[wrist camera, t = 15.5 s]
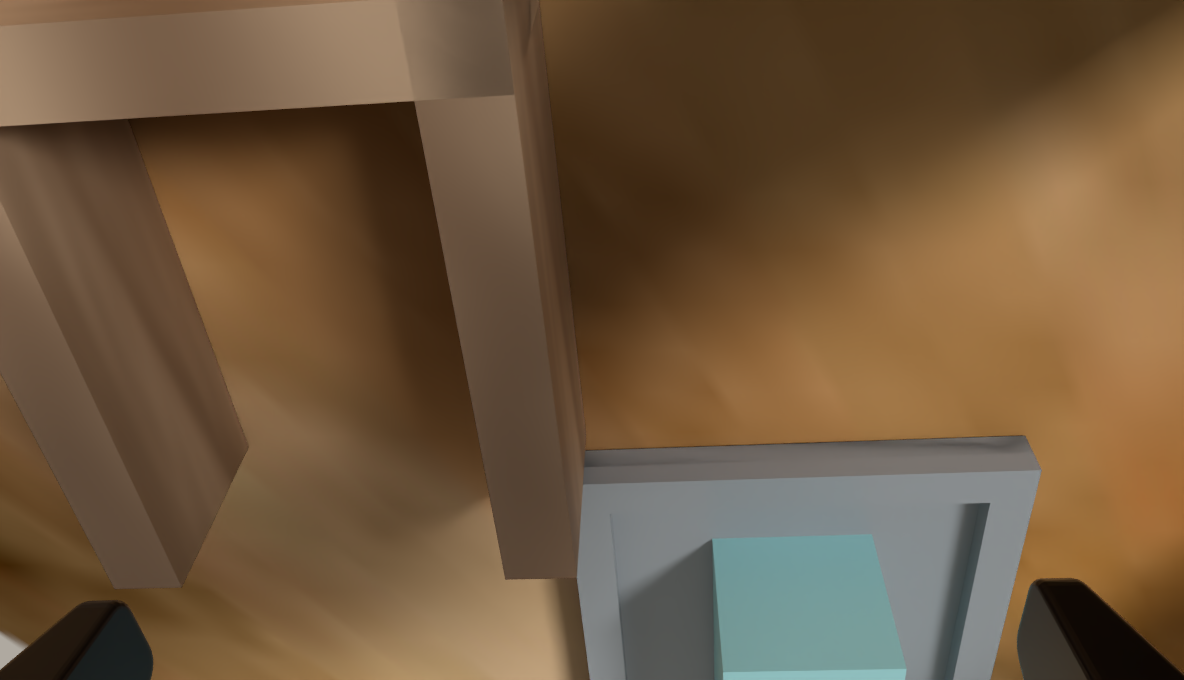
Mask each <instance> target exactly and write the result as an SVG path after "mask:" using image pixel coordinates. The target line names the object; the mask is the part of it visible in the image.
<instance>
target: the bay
mask: <svg viewBox="0 0 1184 680" xmlns="http://www.w3.org/2000/svg"><path fill="white" fill-rule="evenodd" d="M405 101H414V102H415V107H416V113H417V118H418V123H419V128H420V134H421V139H422V144H423V149H424V155H425V160H426V165H427V170H428V176H429V181H430V186H431V191H432V197H433V202H434V207H435V212H436V218H437V223H438V228H439V233H440V239H441V244H442V249H443V254H444V260H445V265H446V270H447V275H448V281H449V286H450V291H451V296H452V302H453V307H454V312H455V317H456V323H457V328H458V333H459V338H460V344H461V349H462V354H463V359H464V365H465V370H466V375H467V380H468V386H469V391H470V396H471V401H472V407H473V412H474V417H475V422H476V428H477V433H478V438H479V443H480V449H481V454H482V459H483V464H484V470H485V475H486V480H487V485H488V491H489V496H490V501H491V506H492V512H493V517H494V522H495V527H496V533H497V538H498V543H499V548H500V554H501V559H502V564H503V569H504V575H505V580H508V579H549V578H577V569H578V554H579V538H580V523H581V507H582V492H583V476H584V461H585V445H586V429H585V420H584V411H583V402H582V392H581V383H580V374H579V365H578V355H577V346H576V337H575V328H574V318H573V309H572V300H571V291H570V281H569V272H568V263H567V254H566V244H565V235H564V226H563V217H562V207H561V198H560V189H559V180H558V171H557V161H556V152H555V143H554V134H553V124H552V115H551V106H550V97H549V87H548V78H547V69H546V60H545V50H544V41H543V32H542V23H541V13H540V4H539V0H0V373H1V375H2V377H3V379H4V381H5V383H6V385H7V386H8V388H9V390H10V392H11V394H12V396H13V398H14V400H15V402H16V404H17V405H18V407H19V409H20V411H21V413H22V415H23V417H24V419H25V421H26V422H27V424H28V426H29V428H30V430H31V432H32V434H33V436H34V438H35V439H36V441H37V443H38V445H39V447H40V449H41V451H42V453H43V455H44V457H45V458H46V460H47V462H48V464H49V466H50V468H51V470H52V472H53V474H54V475H55V477H56V479H57V481H58V483H59V485H60V487H61V489H62V491H63V492H64V494H65V496H66V498H67V500H68V502H69V504H70V506H71V508H72V509H73V511H74V513H75V515H76V517H77V519H78V521H79V523H80V525H81V527H82V528H83V530H84V532H85V534H86V536H87V538H88V540H89V542H90V544H91V545H92V547H93V549H94V551H95V553H96V555H97V557H98V559H99V561H100V562H101V564H102V566H103V568H104V570H105V572H106V574H107V576H108V578H109V579H110V581H111V583H112V585H113V587H114V589H137V588H178V587H182V586H183V584H184V582H185V580H186V578H187V575H188V573H189V571H190V569H191V567H192V565H193V563H194V561H195V559H196V557H197V554H198V552H199V550H200V548H201V546H202V544H203V542H204V540H205V538H206V536H207V533H208V531H209V529H210V527H211V525H212V523H213V521H214V519H215V517H216V514H217V512H218V510H219V508H220V506H221V504H222V502H223V500H224V498H225V496H226V493H227V491H228V489H229V487H230V485H231V483H232V481H233V479H234V477H235V475H236V472H237V470H238V468H239V466H240V464H241V462H242V460H243V458H244V456H245V454H246V451H247V449H248V444H247V442H246V439H245V436H244V433H243V431H242V428H241V425H240V423H239V420H238V417H237V414H236V412H235V409H234V406H233V404H232V401H231V398H230V395H229V393H228V390H227V387H226V385H225V382H224V379H223V376H222V374H221V371H220V368H219V366H218V363H217V360H216V357H215V355H214V352H213V349H212V347H211V344H210V341H209V338H208V336H207V333H206V330H205V328H204V325H203V322H202V319H201V317H200V314H199V311H198V309H197V306H196V303H195V300H194V298H193V295H192V292H191V289H190V287H189V284H188V281H187V279H186V276H185V273H184V270H183V268H182V265H181V262H180V260H179V257H178V254H177V251H176V249H175V246H174V243H173V241H172V238H171V235H170V232H169V230H168V227H167V224H166V222H165V219H164V216H163V213H162V211H161V208H160V205H159V203H158V200H157V197H156V194H155V192H154V189H153V186H152V184H151V181H150V178H149V175H148V173H147V170H146V167H145V165H144V162H143V159H142V156H141V154H140V151H139V148H138V146H137V143H136V140H135V137H134V135H133V132H132V129H131V127H130V124H129V121H128V119H129V118H145V117H161V116H178V115H194V114H210V113H226V112H243V111H259V110H275V109H291V108H307V107H324V106H340V105H356V104H372V103H389V102H405Z"/></svg>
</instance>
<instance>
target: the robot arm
mask: <svg viewBox="0 0 1184 680" xmlns="http://www.w3.org/2000/svg"><path fill="white" fill-rule="evenodd" d="M1017 649H1018V656H1019V661H1020V666H1021V670H1022V674H1023V678H1024V680H1184V673H1183V672H1182V671H1181V670H1179V669H1178V668H1177V667H1176V666H1175V665H1174V664H1173V663H1172V662H1171V661H1170V660H1169V659H1167V658H1166V657H1165V656H1164V655H1163V654H1162V653H1161V652H1160V651H1159V650H1158V649H1156V648H1155V647H1154V646H1153V645H1152V644H1151V643H1150V642H1149V641H1148V640H1147V639H1145V638H1144V637H1143V636H1142V635H1141V634H1140V633H1139V632H1138V631H1137V630H1136V629H1134V628H1133V627H1132V626H1131V625H1130V624H1129V623H1128V622H1127V621H1126V620H1125V619H1124V618H1122V617H1121V616H1120V615H1119V614H1118V613H1117V612H1116V611H1115V610H1114V609H1113V608H1111V607H1110V606H1109V605H1108V604H1107V603H1106V602H1105V601H1104V600H1103V599H1102V598H1100V597H1099V596H1098V595H1097V594H1096V593H1095V592H1094V591H1093V590H1092V589H1091V588H1089V587H1088V586H1087V585H1086V584H1085V583H1083V582H1082V581H1080V580H1078V579H1074V578H1046V579H1037V580H1035V581H1034V582H1033V583H1032V584H1031V586H1030V588H1029V591H1028V595H1027V599H1026V603H1025V607H1024V610H1023V614H1022V618H1021V622H1020V626H1019V630H1018V635H1017ZM152 671H153V655H152V651H151V648H150V646H149V644H148V642H147V640H146V638H145V636H144V634H143V632H142V630H141V628H140V627H139V625H138V623H137V621H136V619H135V617H134V615H133V613H132V611H131V609H130V608H129V606H128V605H127V604H125V603H124V602H122V601H118V600H108V601H87V602H84V603H81V604H79V605H78V606H76V607H75V608H73V609H72V610H71V611H70V612H68V613H67V614H66V615H65V616H64V617H63V618H61V619H60V620H59V621H58V622H57V623H55V624H54V625H53V626H52V627H51V628H49V629H48V630H47V631H46V632H45V633H43V634H42V635H41V636H40V637H39V638H38V639H36V640H35V641H34V642H33V643H32V644H30V645H29V646H28V647H27V648H26V649H24V650H23V651H22V652H21V653H20V654H19V655H17V656H16V657H15V658H14V659H13V660H11V661H10V662H9V663H8V664H7V665H5V666H4V667H3V668H2V669H1V670H0V680H151V676H152Z"/></svg>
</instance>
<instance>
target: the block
mask: <svg viewBox="0 0 1184 680" xmlns="http://www.w3.org/2000/svg"><path fill="white" fill-rule="evenodd" d="M712 554H713V620H714V680H905V676H906V670H907V668H906V664H905V660H904V657H903V653H902V649H901V645H900V641H899V637H898V633H897V629H896V626H895V622H894V618H893V614H892V610H891V606H890V602H889V598H888V595H887V591H886V587H885V583H884V579H883V575H882V571H881V567H880V564H879V560H878V556H877V552H876V548H875V544H874V540H873V536H872V534H865V535H829V536H793V537H757V538H722V539H712Z"/></svg>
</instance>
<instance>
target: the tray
mask: <svg viewBox="0 0 1184 680" xmlns="http://www.w3.org/2000/svg"><path fill="white" fill-rule="evenodd" d="M1041 471H1042V470H1041V468H1040V466H1039V464H1038V461H1037V459H1036V457H1035V455H1034V453H1033V451H1032V449H1031V447H1030V445H1029V443H1028V441H1027V439H1026V436H1002V437H973V438H944V439H914V440H885V441H855V442H826V443H797V444H767V445H738V446H708V447H679V448H650V449H620V450H591V451H585V461H584V476H583V492H582V507H581V523H580V538H579V554H578V569H577V584H578V591H579V599H580V607H581V614H582V622H583V630H584V638H585V645H586V653H587V661H588V669H589V676H590V680H714V620H713V554H712V539H722V538H757V537H793V536H829V535H865V534H872V536H873V540H874V544H875V548H876V552H877V556H878V560H879V564H880V567H881V571H882V575H883V579H884V583H885V587H886V591H887V595H888V598H889V602H890V606H891V610H892V614H893V618H894V622H895V626H896V629H897V633H898V637H899V641H900V645H901V649H902V653H903V657H904V660H905V664H906V668H907V670H906V676H905V680H990V679H991V675H992V671H993V667H994V663H995V659H996V655H997V651H998V647H999V642H1000V638H1001V634H1002V630H1003V626H1004V622H1005V618H1006V614H1007V610H1008V606H1009V602H1010V597H1011V593H1012V589H1013V585H1014V581H1015V577H1016V573H1017V569H1018V565H1019V561H1020V557H1021V553H1022V548H1023V544H1024V540H1025V536H1026V532H1027V528H1028V524H1029V520H1030V516H1031V512H1032V508H1033V503H1034V499H1035V495H1036V491H1037V487H1038V483H1039V479H1040V475H1041Z"/></svg>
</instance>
